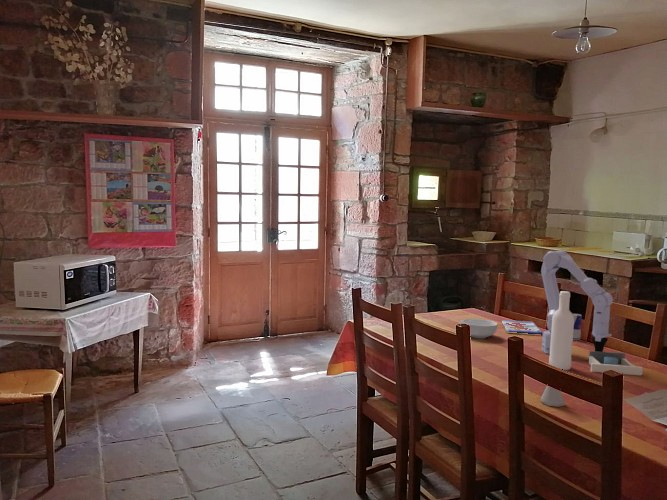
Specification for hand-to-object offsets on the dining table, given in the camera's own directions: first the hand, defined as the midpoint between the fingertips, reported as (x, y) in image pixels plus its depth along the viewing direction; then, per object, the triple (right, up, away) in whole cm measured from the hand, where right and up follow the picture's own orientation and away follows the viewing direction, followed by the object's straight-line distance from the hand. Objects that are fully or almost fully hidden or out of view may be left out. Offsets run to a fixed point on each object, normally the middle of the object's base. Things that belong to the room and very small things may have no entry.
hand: (598, 355), depth 216 cm
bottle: (-19, -3, -8) cm, 21 cm away
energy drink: (+6, 0, +36) cm, 37 cm away
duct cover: (+2, -3, -2) cm, 4 cm away
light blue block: (+1, -4, -7) cm, 8 cm away
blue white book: (-13, +2, +54) cm, 56 cm away
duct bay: (+1, -4, -7) cm, 8 cm away
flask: (-38, -7, -46) cm, 60 cm away
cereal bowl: (-39, +1, +37) cm, 54 cm away
